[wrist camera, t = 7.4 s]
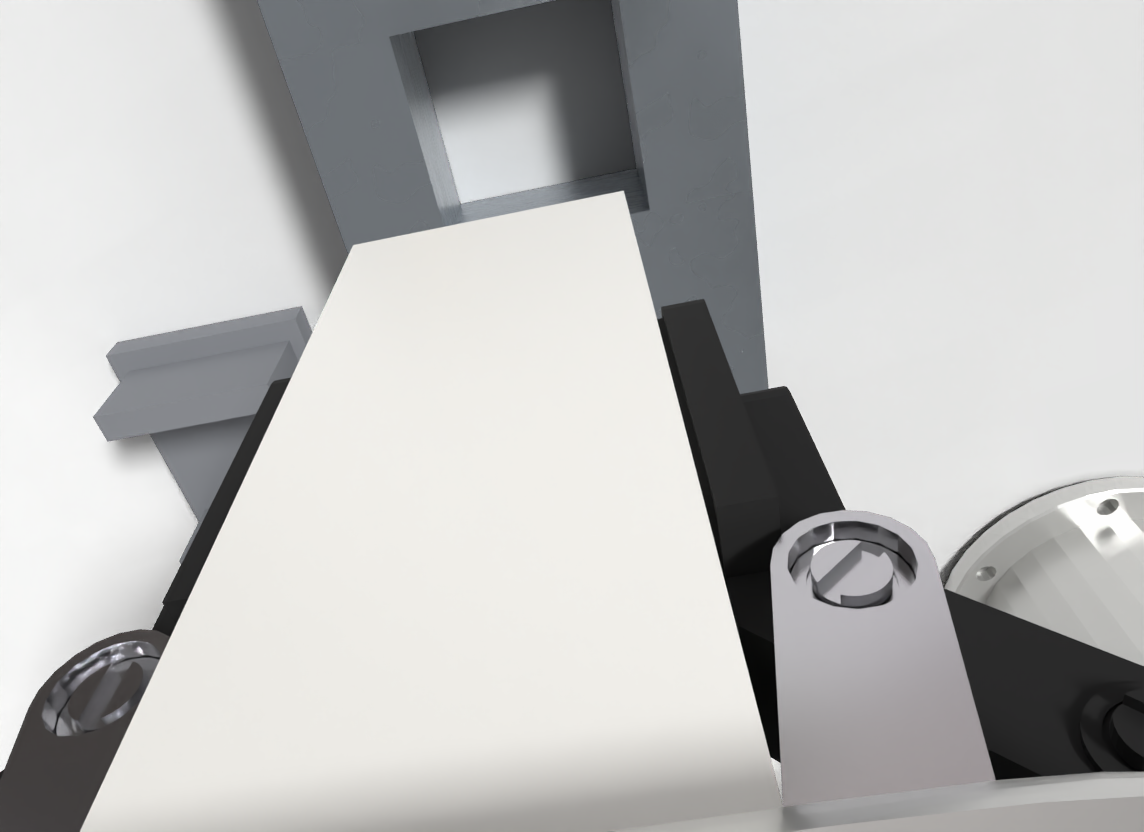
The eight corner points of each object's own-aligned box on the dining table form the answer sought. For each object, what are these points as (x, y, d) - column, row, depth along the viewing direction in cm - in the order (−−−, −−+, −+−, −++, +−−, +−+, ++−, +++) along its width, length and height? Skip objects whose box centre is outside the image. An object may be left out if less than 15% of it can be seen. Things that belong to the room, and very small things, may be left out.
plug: (661, 420, 14) (917, 1581, 5) (430, 461, 15) (226, 1635, 5) (624, 190, 12) (952, 1460, 3) (353, 245, 13) (-263, 1564, 3)
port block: (744, 335, 32) (771, 398, 28) (431, 393, 33) (418, 461, 29) (677, -370, 21) (707, -416, 18) (215, -255, 22) (151, -276, 19)
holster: (379, 499, 36) (363, 566, 32) (219, 527, 36) (186, 596, 33) (301, 306, 31) (273, 361, 28) (117, 342, 31) (67, 400, 28)
